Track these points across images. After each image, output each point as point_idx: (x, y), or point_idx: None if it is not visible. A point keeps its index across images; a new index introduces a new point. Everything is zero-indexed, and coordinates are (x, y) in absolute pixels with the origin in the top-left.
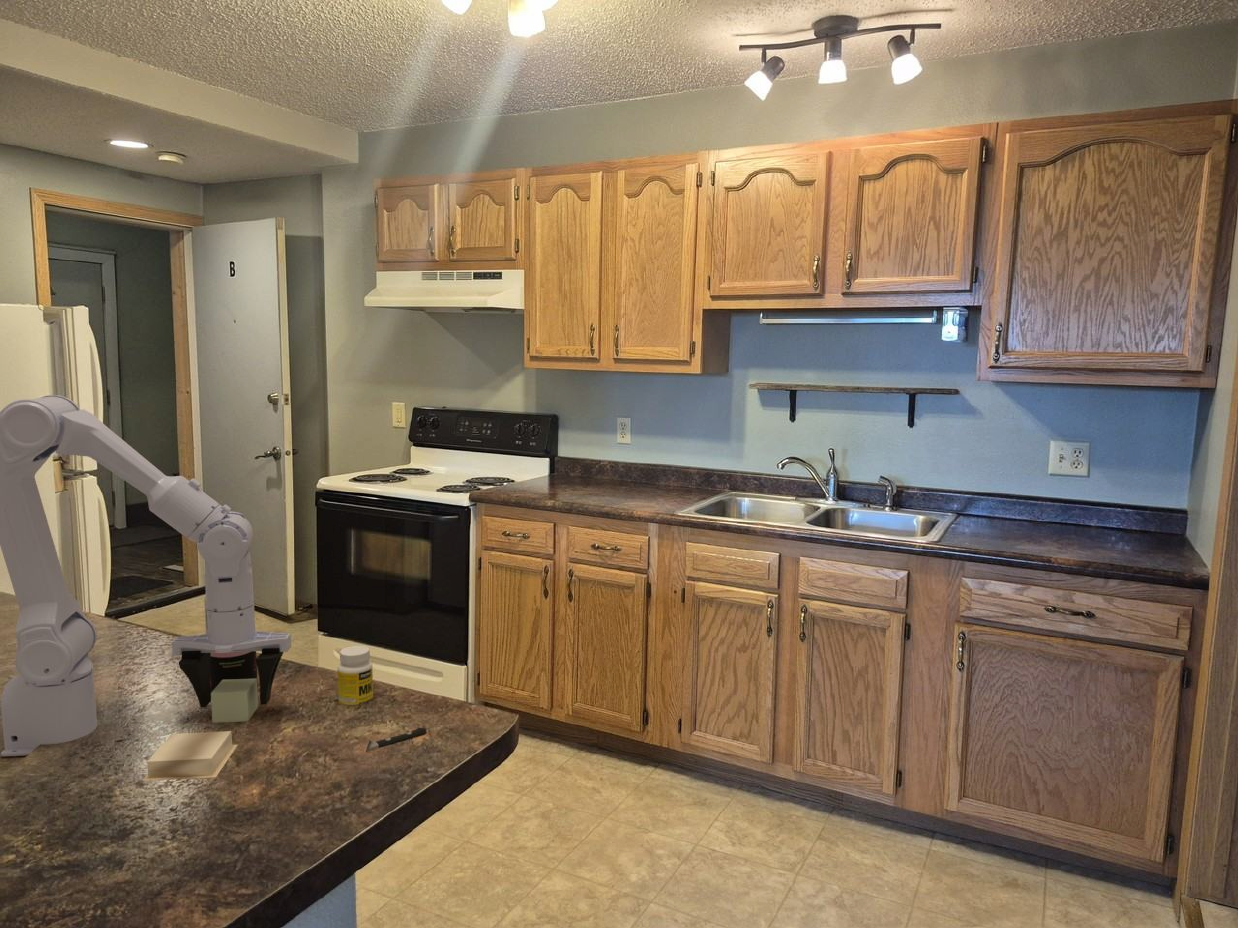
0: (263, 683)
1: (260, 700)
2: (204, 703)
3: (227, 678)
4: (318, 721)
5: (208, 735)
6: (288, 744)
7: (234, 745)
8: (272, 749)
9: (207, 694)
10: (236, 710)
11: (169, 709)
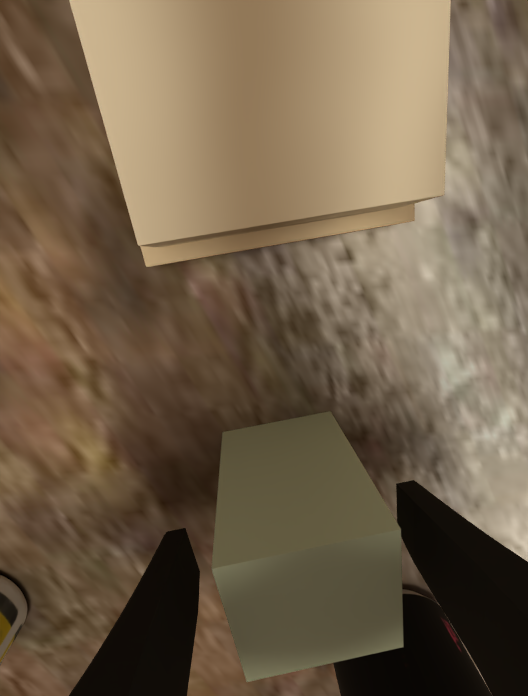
0: (123, 648)
1: (177, 543)
2: (408, 492)
3: (408, 660)
4: (30, 511)
5: (237, 180)
6: (21, 357)
7: (156, 258)
8: (56, 316)
9: (422, 543)
10: (263, 477)
11: (506, 515)
